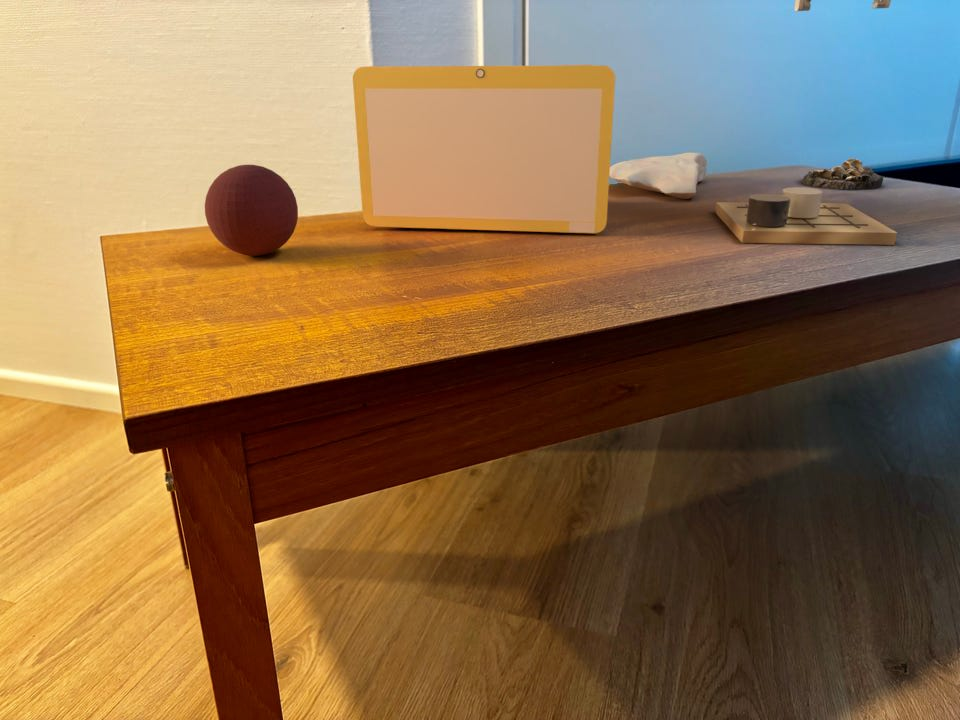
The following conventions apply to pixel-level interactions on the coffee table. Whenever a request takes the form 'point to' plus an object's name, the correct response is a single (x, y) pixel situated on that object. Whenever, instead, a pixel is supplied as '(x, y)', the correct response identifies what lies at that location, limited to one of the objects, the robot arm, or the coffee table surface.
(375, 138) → the tablet
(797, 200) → the white stone
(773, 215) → the black stone
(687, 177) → the decorative stone
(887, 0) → the robot arm
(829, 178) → the grey lumpy piece
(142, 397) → the coffee table surface
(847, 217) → the game board
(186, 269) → the coffee table surface
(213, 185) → the decorative ball
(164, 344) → the coffee table surface
